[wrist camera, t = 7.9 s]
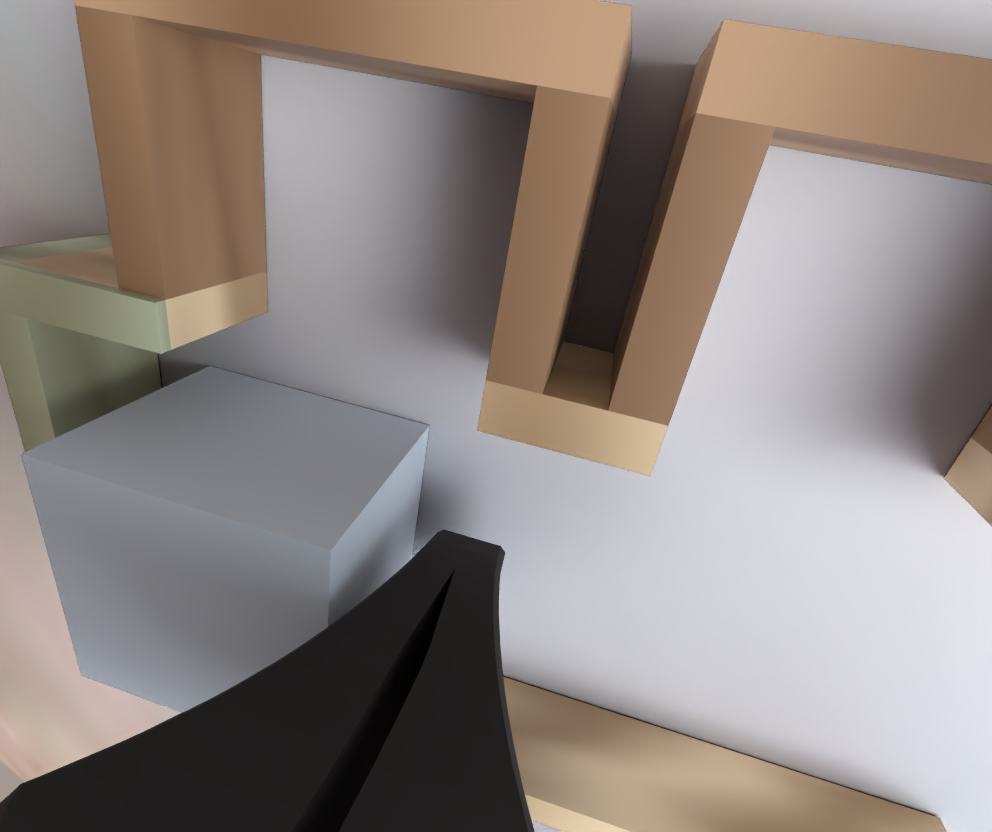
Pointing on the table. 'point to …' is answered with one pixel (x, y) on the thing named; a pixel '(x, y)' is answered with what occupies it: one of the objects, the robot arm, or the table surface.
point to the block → (220, 528)
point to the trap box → (526, 284)
